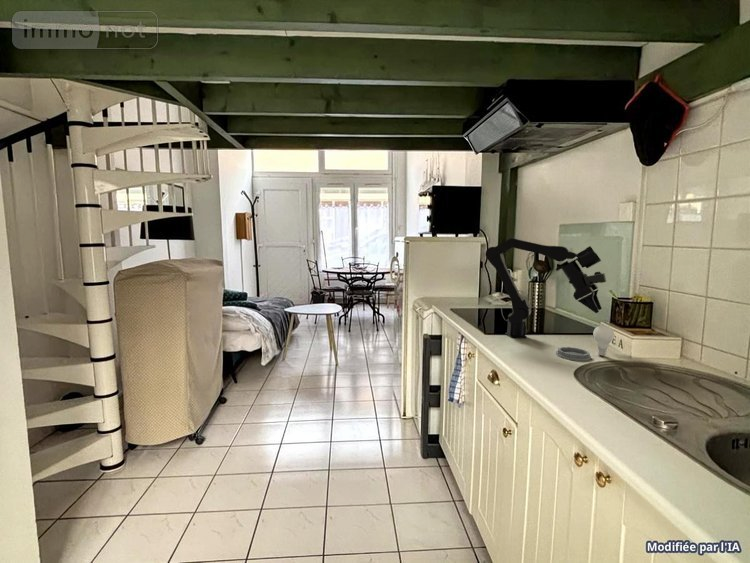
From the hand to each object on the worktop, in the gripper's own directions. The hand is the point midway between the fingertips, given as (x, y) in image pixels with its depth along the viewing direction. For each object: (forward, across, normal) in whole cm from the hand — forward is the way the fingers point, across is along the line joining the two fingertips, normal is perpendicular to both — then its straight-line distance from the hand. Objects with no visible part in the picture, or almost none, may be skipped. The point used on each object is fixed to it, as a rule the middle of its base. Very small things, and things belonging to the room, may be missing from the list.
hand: (599, 311), depth 148 cm
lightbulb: (+14, -10, +6) cm, 18 cm away
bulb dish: (+9, -17, +12) cm, 23 cm away
